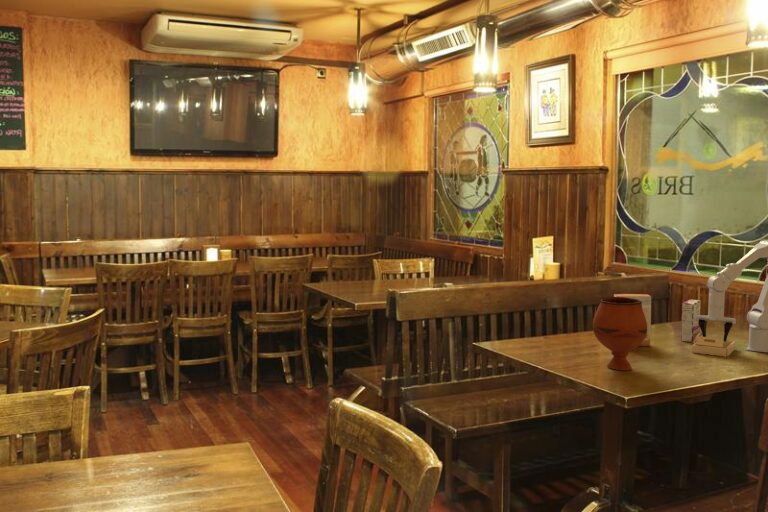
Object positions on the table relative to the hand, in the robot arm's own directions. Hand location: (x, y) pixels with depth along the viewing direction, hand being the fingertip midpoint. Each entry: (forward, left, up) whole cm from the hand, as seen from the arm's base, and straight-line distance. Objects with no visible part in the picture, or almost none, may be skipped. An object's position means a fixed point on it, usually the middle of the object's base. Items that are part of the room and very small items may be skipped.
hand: (714, 339), depth 305 cm
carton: (0, +1, -4) cm, 4 cm away
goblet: (+23, +48, -4) cm, 54 cm away
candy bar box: (+12, -16, -4) cm, 20 cm away
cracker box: (+30, +8, -4) cm, 32 cm away
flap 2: (0, +9, +1) cm, 9 cm away
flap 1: (+6, +1, +1) cm, 6 cm away
